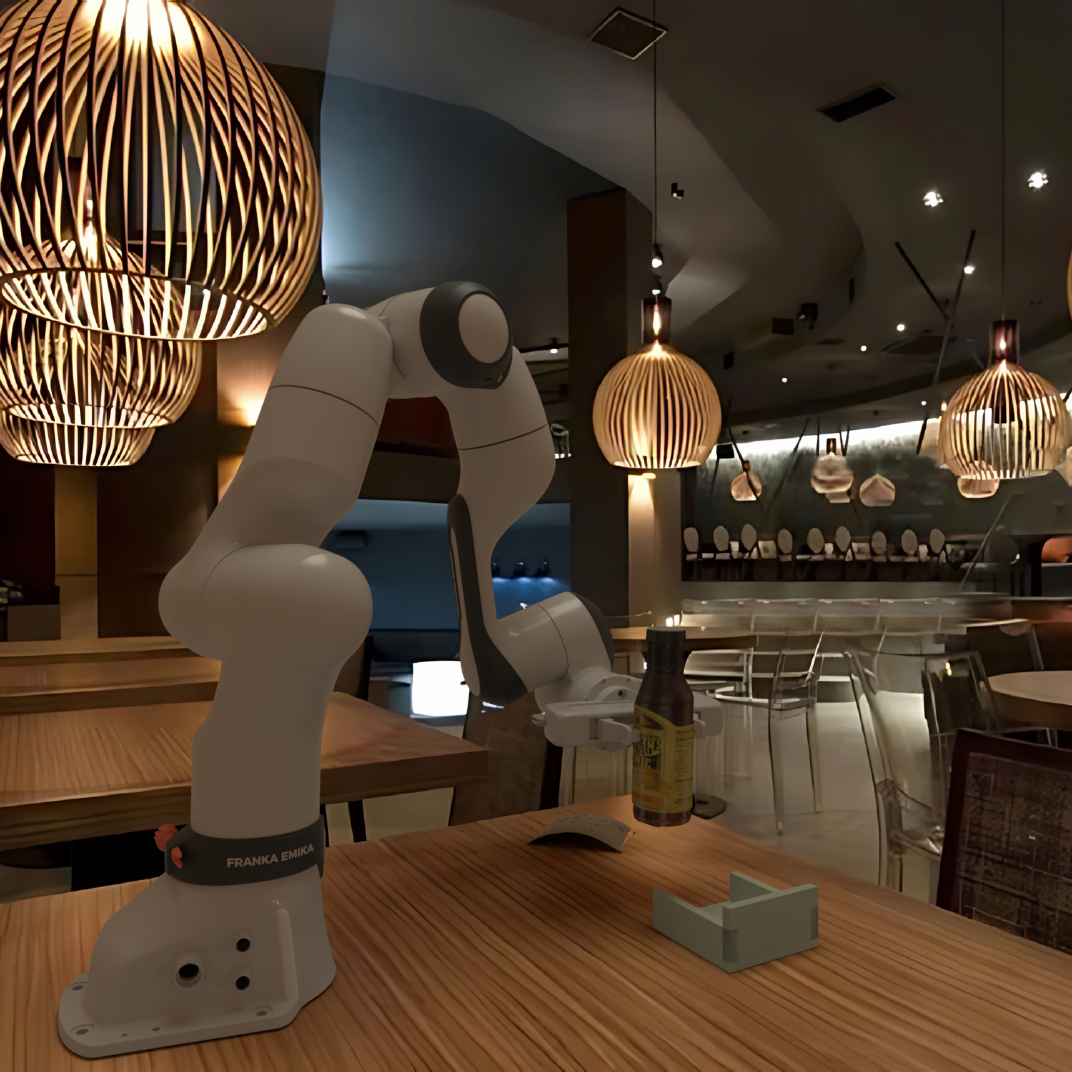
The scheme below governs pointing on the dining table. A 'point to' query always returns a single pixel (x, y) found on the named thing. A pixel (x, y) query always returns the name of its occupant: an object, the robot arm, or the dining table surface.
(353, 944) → the dining table surface
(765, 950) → the caddy
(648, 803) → the sauce bottle
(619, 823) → the grey curved piece
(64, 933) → the dining table surface
